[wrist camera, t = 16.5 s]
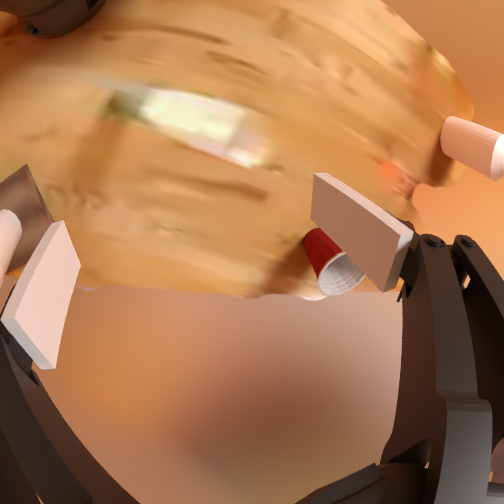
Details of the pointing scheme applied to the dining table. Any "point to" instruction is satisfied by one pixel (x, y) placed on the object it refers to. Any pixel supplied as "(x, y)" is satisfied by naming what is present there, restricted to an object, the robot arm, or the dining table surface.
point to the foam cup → (8, 239)
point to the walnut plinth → (25, 213)
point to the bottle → (474, 146)
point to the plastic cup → (331, 264)
